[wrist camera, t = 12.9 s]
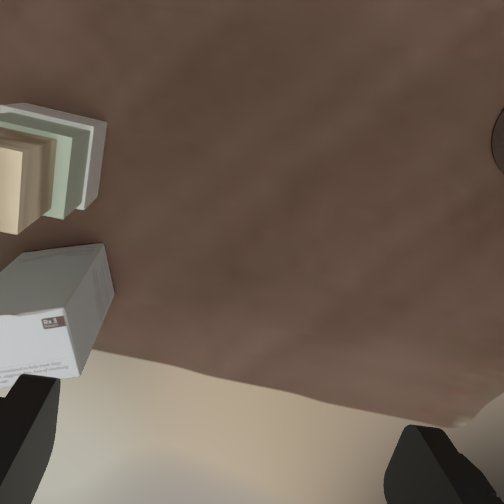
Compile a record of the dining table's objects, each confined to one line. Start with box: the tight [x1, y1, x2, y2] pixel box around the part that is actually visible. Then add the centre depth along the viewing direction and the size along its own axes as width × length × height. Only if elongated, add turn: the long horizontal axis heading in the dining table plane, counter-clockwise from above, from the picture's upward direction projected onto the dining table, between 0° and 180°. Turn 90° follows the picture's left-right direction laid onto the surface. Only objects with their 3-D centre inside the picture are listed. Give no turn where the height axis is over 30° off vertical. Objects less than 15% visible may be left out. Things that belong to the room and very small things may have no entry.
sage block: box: [0, 112, 91, 219], centre depth 33 cm, size 6×6×5 cm
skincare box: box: [0, 243, 115, 388], centre depth 37 cm, size 8×6×15 cm
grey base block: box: [0, 103, 107, 210], centre depth 38 cm, size 7×7×5 cm
